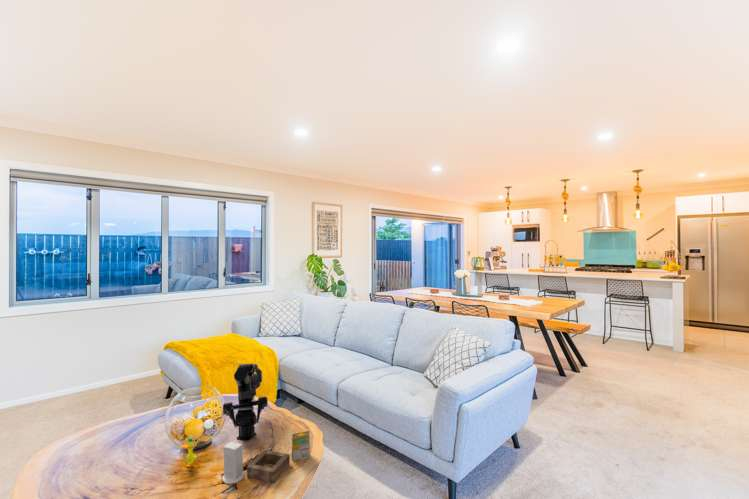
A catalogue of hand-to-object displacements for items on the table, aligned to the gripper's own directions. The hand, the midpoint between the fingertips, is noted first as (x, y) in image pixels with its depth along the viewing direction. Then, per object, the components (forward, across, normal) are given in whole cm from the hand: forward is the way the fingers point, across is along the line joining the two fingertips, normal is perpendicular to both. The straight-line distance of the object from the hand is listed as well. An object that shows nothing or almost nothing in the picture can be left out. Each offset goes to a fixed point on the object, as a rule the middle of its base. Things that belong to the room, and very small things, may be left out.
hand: (246, 424), depth 157 cm
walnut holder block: (+20, +7, -1) cm, 22 cm away
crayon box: (+17, +21, +2) cm, 27 cm away
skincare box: (+18, -6, 0) cm, 19 cm away
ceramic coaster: (+19, -6, 0) cm, 20 cm away
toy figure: (+8, -23, +11) cm, 27 cm away
